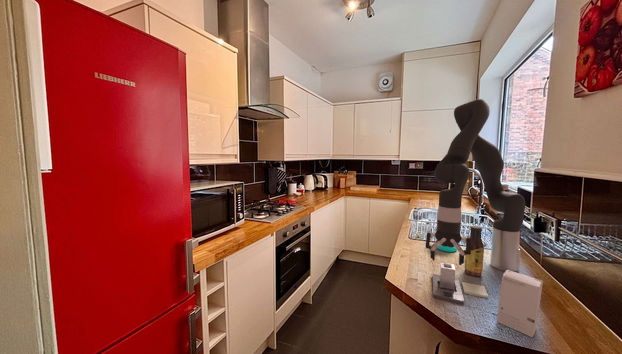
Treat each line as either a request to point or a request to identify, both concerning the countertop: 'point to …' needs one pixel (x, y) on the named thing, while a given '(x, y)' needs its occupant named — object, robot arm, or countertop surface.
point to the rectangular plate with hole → (445, 294)
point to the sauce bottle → (475, 253)
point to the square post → (447, 276)
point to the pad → (474, 290)
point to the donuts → (447, 248)
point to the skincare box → (519, 302)
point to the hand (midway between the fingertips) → (446, 262)
